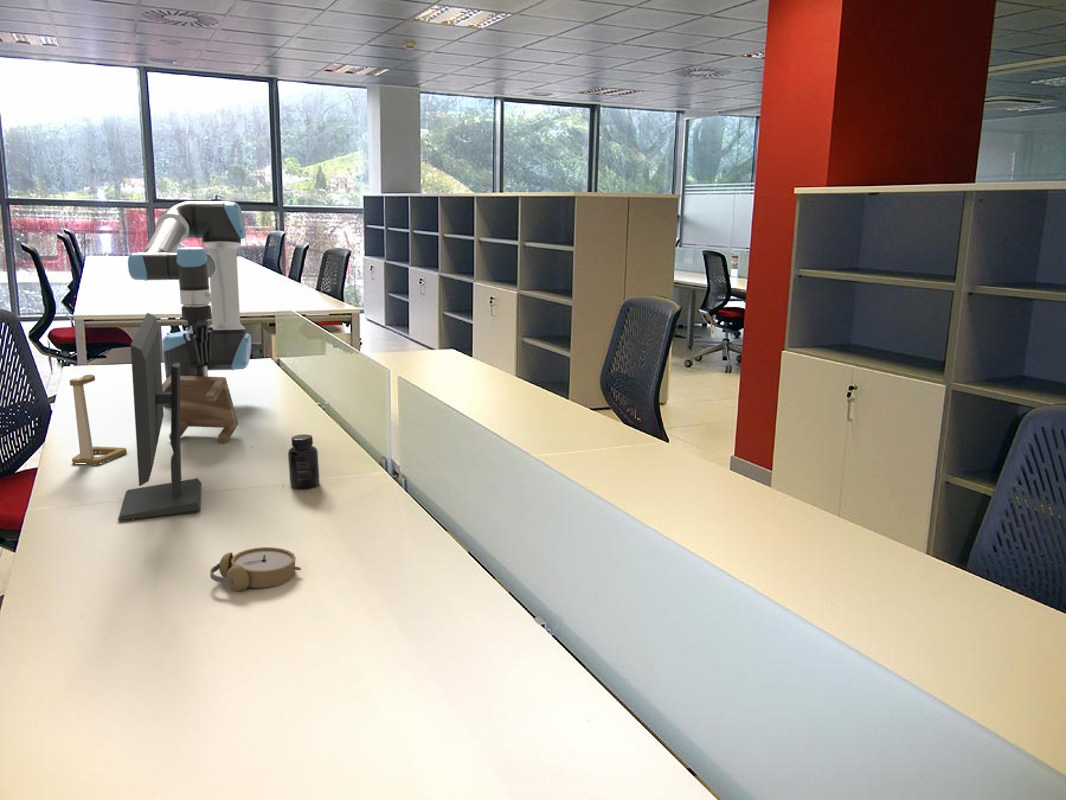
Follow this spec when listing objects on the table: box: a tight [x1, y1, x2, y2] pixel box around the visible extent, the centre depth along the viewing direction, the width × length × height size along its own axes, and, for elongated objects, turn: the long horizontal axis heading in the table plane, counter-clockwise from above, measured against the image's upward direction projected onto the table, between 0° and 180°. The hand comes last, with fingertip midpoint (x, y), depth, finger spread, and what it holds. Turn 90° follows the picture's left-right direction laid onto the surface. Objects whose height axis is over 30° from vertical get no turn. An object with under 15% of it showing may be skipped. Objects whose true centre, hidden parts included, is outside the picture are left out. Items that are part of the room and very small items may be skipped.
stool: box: [162, 375, 239, 444], centre depth 228 cm, size 9×16×16 cm, turn 85°
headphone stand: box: [69, 374, 128, 465], centre depth 212 cm, size 10×11×22 cm
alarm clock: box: [209, 546, 302, 592], centre depth 150 cm, size 11×5×15 cm
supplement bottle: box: [287, 434, 320, 490], centre depth 196 cm, size 7×7×12 cm
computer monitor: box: [117, 312, 202, 522], centre depth 180 cm, size 44×16×40 cm, turn 21°
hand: (203, 389), depth 231 cm, fingers closed
